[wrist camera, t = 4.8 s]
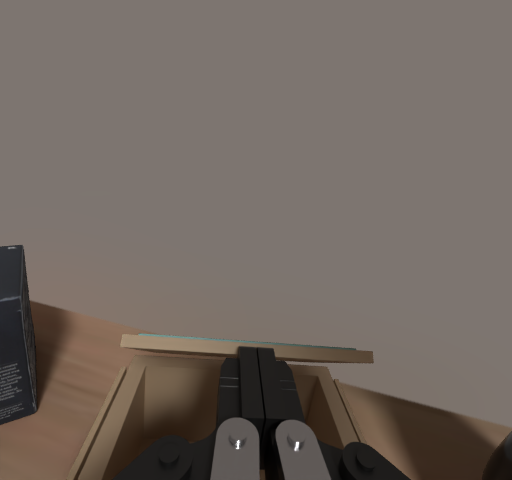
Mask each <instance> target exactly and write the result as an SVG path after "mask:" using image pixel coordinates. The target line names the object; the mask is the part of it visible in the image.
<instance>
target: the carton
mask: <svg viewBox="0 0 512 480" xmlns="http://www.w3.org/2000/svg"><path fill="white" fill-rule="evenodd" d="M224 361H225V360H210V359H194V358H178V357H162V356H146V355H135V356H134V358H133V360H132V362H131V364H130V367H129V369H128V371H127V373H126V367H121V369H120V371H119V373H118V375H117V377H116V380H115V382H114V384H113V386H112V388H111V390H110V392H109V394H108V396H107V398H106V400H105V402H104V404H103V406H102V408H101V410H100V412H99V414H98V416H97V418H96V420H95V422H94V424H93V426H92V428H91V430H90V432H89V434H88V436H87V438H86V440H85V442H84V444H83V446H82V448H81V450H80V452H79V454H78V456H77V458H76V460H75V463H74V465H73V467H72V469H71V471H70V473H69V475H68V477H67V479H66V480H112V479H113V478H114V477H115V476H116V475H117V474H119V473H120V472H121V471H122V470H123V469H124V468H125V467H126V466H128V465H129V464H130V463H131V462H132V461H133V460H134V459H135V458H137V457H138V456H139V455H140V454H141V453H142V452H143V451H145V450H146V449H147V448H148V447H149V446H150V445H151V444H152V443H154V442H155V441H156V440H158V439H159V438H161V437H164V436H168V435H177V436H181V437H183V438H185V439H186V440H187V441H188V442H189V443H193V442H197V441H200V440H202V439H204V438H206V437H208V436H209V435H210V434H211V433H212V432H213V431H214V430H215V428H216V411H217V394H218V386H219V378H220V370H221V365H222V364H223V362H224ZM287 365H288V366H289V367H290V369H291V370H292V373H293V377H294V382H295V384H296V388H297V392H298V396H299V400H300V403H301V407H302V411H303V415H304V419H305V422H306V425H307V426H308V427H309V428H310V429H311V430H312V431H313V432H314V434H315V436H316V438H317V439H319V440H320V441H322V442H323V443H326V444H328V445H331V446H334V447H336V448H339V449H342V450H343V449H344V447H345V446H346V445H347V444H348V443H350V442H361V443H365V444H367V443H366V441H365V439H364V436H363V434H362V432H361V430H360V427H359V425H358V423H357V421H356V418H355V416H354V414H353V412H352V410H351V407H350V405H349V403H348V401H347V398H346V396H345V394H344V392H343V389H342V387H341V385H340V383H339V380H338V379H334V381H333V379H332V377H331V375H330V373H329V370H328V368H327V367H322V366H306V365H291V364H287ZM259 474H260V480H266V479H265V470H259Z"/></svg>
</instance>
